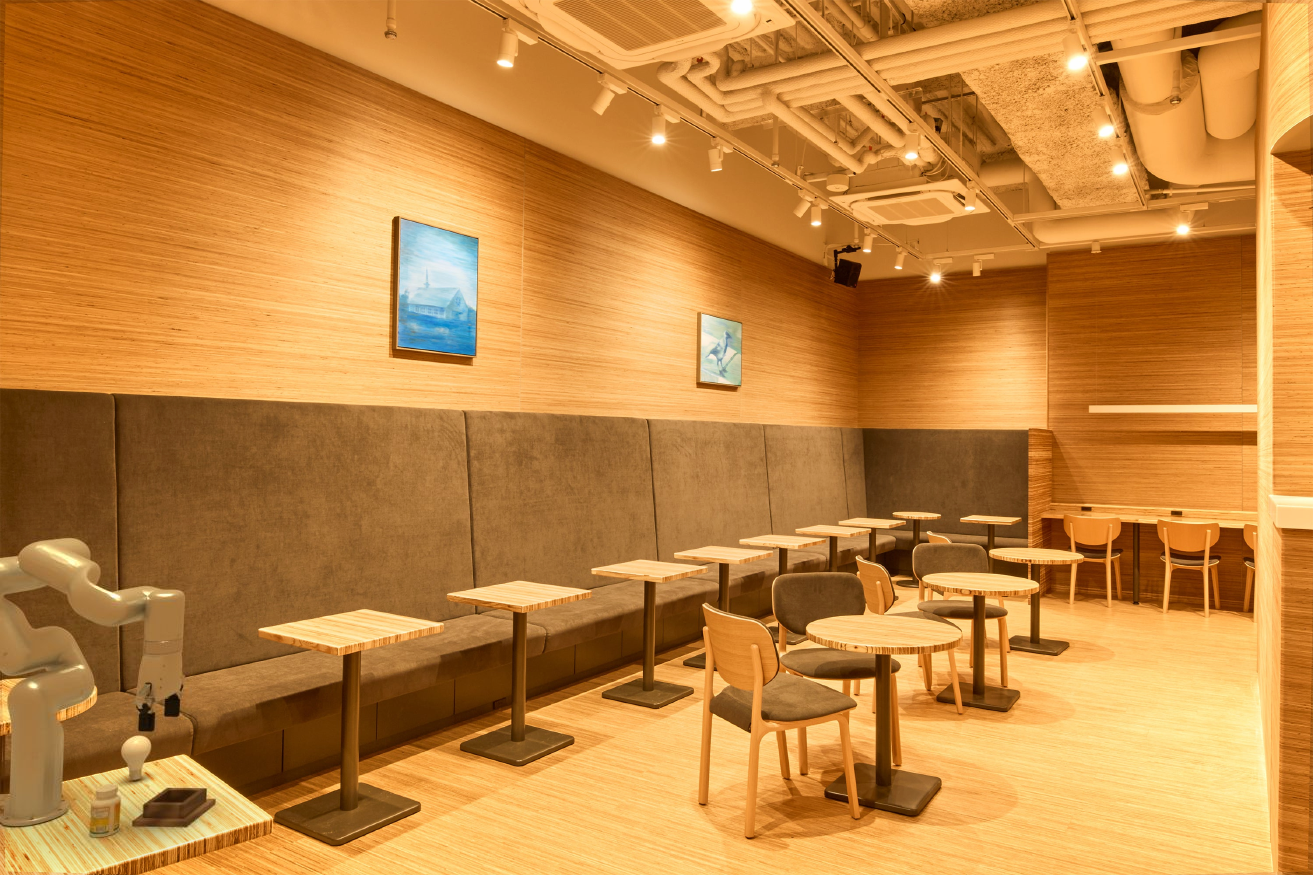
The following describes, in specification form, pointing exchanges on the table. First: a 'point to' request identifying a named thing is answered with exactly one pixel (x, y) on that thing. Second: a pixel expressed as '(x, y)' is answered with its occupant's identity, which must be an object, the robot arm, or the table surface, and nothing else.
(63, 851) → the table surface
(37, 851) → the table surface
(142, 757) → the lightbulb
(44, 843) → the table surface
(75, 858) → the table surface
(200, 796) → the holder
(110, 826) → the supplement bottle
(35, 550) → the robot arm
